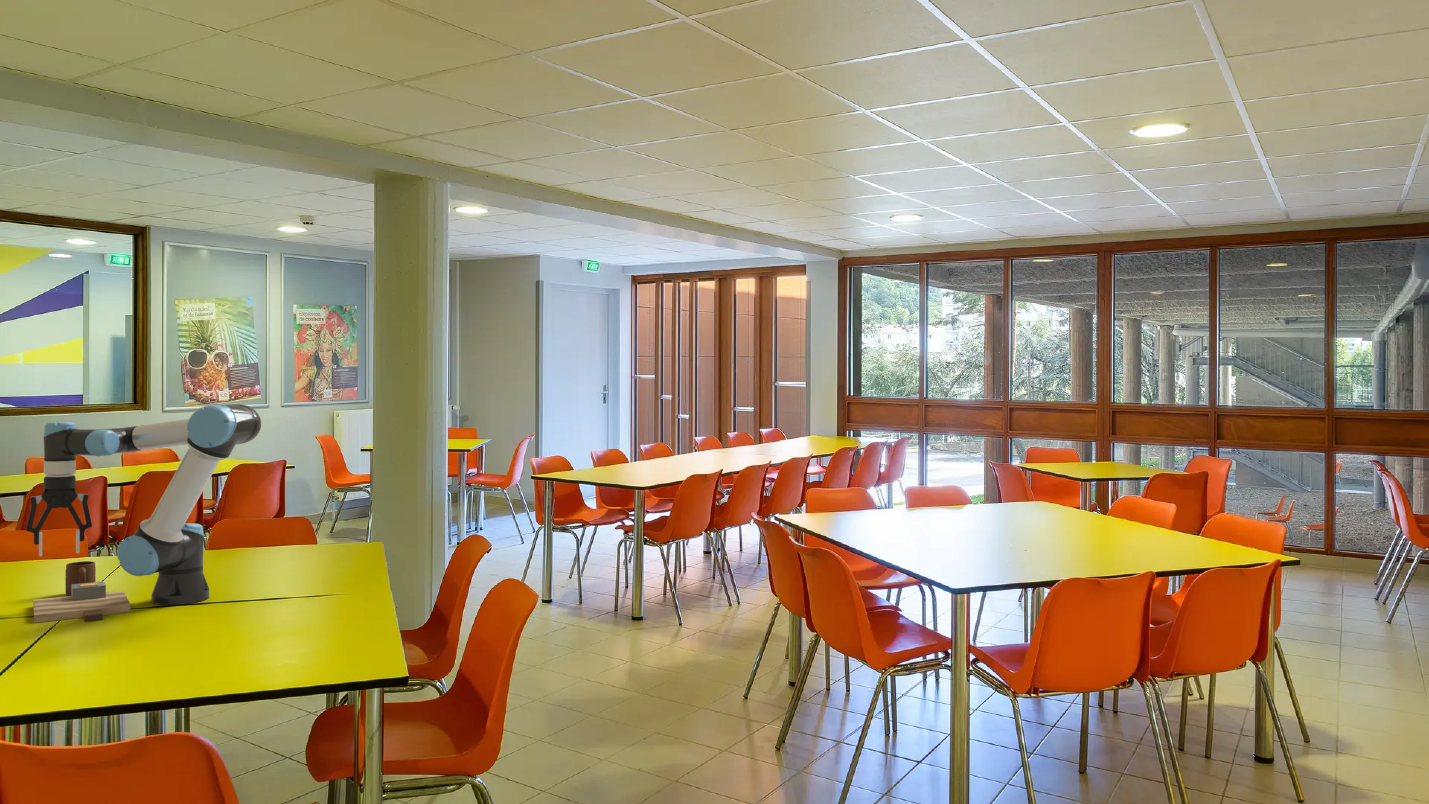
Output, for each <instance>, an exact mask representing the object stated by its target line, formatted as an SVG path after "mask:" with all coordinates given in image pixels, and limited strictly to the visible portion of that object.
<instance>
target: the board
mask: <svg viewBox="0 0 1429 804" xmlns="http://www.w3.org/2000/svg"><path fill="white" fill-rule="evenodd" d="M131 606H132V604H131V603H130V601H129V599H128V596H127V595H126V593H125V591H124V590H117V591H109V592H108V591H106V597H105V598H95V599H85V600H76V601H72V597H71V596H67V595H65V596H57V597H49V598H39V599H33V600H32V607H33V608H32V610H33V611H32V613H33V623H34V624H36V623H47V622H53V621H55V622H56V621H62V620H63V621H64V620H70V619H71V620H72V619H81V618H82V619H83V620H84V622H85V623H87V622H95V621H103V616H106V615H107V616H108V615H115V614H125V613H131V612H132V607H131Z"/></svg>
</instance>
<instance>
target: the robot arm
mask: <svg viewBox="0 0 1429 804" xmlns="http://www.w3.org/2000/svg"><path fill="white" fill-rule="evenodd" d="M43 429H44V431H43V436H42V437H43V451H44V452H43V454H44V455H43V475H45V476H44V477H43V492H42V494H41V495H36V496H34V495H31V497H30V502H31V503H30V510H29V515H28V519H27V522H26V528H25V531H26V532H28V533H29V532H30V533H33V544H34V545H38V557H43V532H42V531H41V529H42V527H43V525H44V524H45V521H46V520H47V518H48V516H49V514H50V512H52V509H57V508H61V509H62V508H63V509H65V508H67V509H68V511H69V512H70V515H71V516H72V519H74V521H75V523H76V526H77V527H78V529H76V530H75V553H76V554H80V551H81V549H80V547H81V543H80V542H84V541H85V531H86V529H90V528H92V527H93V524H92V520H91V514H90V509H89V505H88V504H89V503H88V500H89V494H88V493H78V492H77V486H76V485H77V483H76V482H77V478H76V476H75V474H76V473H77V466H76V465H77V464H76V463H77V460H76V459H77V458H76V457H77V456H93V457H94V456H95V457H106V456H107V457H108V456H109V457H110V456H112V455H114V454H127V453H136V452H141V451H147V450H154V449H162V448H169V447H170V448H171V447H177V446H185V445H187V446H188V449H187V451H186V453H185V455H184V456H183V458H182V460H181V462H180V464H179V465H178V466H177V468H176V471H175V472H174V475H173V477H172V478H171V480H170V482H169V483H168V484H167V487H166V488H165V491H164V492H163V494H162V496H161V498H160V500H159V501H158V503H157V505H156V507H155V508H154V511H153V512H152V513H151V516H150V517H149V518H147V519H144V520H142V521H140V523H139V525H138V526H137V529H136V531H135V532H134V534H133V535H130V536H129V535H128V536H126V538H124V539H122V540H121V542H120V543H119V545H118V548H117V552H116V555H117V560H118V561H119V565H120V567H121V568H122V569H123V570H124V571H125V572H126V573H127V574H130V575H132V576H135V577H144V576H151V575H153V574H156V573H157V575H158V576H157V578H156V581H155V584H154V586H153V590H152V592H151V595H150V596H151V599H150V601H151V603H152V604H154V605H163V606H168V605H169V606H174V605H175V606H176V605H187V604H192V603H198V602H202V601H205V600H208V599H209V598H210V588H209V584H208V583H207V578H206V576H205V573H204V541H205V540H204V538H205V534H204V526H203V525H201V524H200V523H191V522H190V523H189V522H187V520H188V519H189V516H190V515H191V513H192V511H193V510H194V508H195V507H196V506H195V505H197V503H198V500H199V499H200V497H201V495H202V494H203V492H204V490H205V488H206V486H207V485H208V483H209V481H210V479H211V478H212V476H213V473H214V472H215V471H216V468H217V467H218V465H219V463H220V461H222V460H226V459H228V458H229V457H230V455H231V454H232V452H233V450H234V448H235V446H236V445H241V444H242V445H243V444H246V443H250V442H251V441H252V440H254V439H256V437H257V436H258V435H259V433H260V431H261V429H262V419H261V417H260V415H259V413H258V412H257V411H256V410H255V409H254V408H253V407H251V406H250V405H249V406H248V405H246V404H242V403H241V404H239V403H237V404H218V403H215V404H210V405H205V406H202V407H200V408H198V409H196V410H195V411H194V412H193V413H192V414H191V416H190V417H189V418H186V419H179V420H178V419H177V420H171V421H164V422H158V423H157V422H156V423H149V424H143V425H142V424H141V425H134V426H127V427H116V428H97V429H96V428H94V429H93V428H92V429H90V428H89V429H88V428H87V429H79V428H77V425H76V423H75V422H74V421H51V422H46V424H45V425H44V428H43ZM76 499H78V500H79V501H80V502H81V505H82V511H83V514H84V518H85V524H84V523H83V522H82V520H81V518H80V516H79V515H78V513H77V511H76V509H75V507H74V506H73V502H74V501H75V500H76ZM41 500H43V501H44V502H45V504H46V506H45V508H44V510H43V512H42V515H41V516H40V518H39V520H38V522H37V524H36V525H35V527H33V525H34V520H35V515H36V511H37V506H38V505H37V504H39V503H40V502H41ZM186 522H187V523H186ZM40 531H41V532H40Z"/></svg>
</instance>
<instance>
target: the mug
mask: <svg viewBox="0 0 1429 804" xmlns="http://www.w3.org/2000/svg"><path fill="white" fill-rule="evenodd" d="M96 571H97V570H96V562H95V561H92V560H91V561H90V560H89V561H87V560H85V561H75V562H68V563H67V564H66V565H65V576H64V577H65V596H71V584H81V583H91V582H97V581H96V578H97V577H96V574H97V573H96Z"/></svg>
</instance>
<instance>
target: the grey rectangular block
mask: <svg viewBox="0 0 1429 804" xmlns="http://www.w3.org/2000/svg"><path fill="white" fill-rule="evenodd" d="M106 592H107V585H106V583H105V581H104V580H102V581H95V582H91V583H81V584H71V597H72V601H76V600H85V599H95V598H105V597H106Z"/></svg>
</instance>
